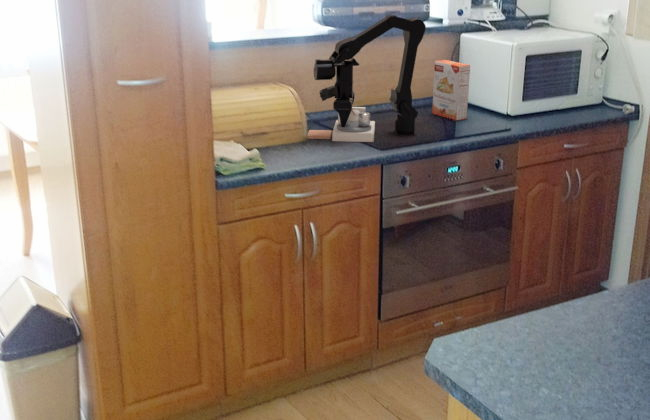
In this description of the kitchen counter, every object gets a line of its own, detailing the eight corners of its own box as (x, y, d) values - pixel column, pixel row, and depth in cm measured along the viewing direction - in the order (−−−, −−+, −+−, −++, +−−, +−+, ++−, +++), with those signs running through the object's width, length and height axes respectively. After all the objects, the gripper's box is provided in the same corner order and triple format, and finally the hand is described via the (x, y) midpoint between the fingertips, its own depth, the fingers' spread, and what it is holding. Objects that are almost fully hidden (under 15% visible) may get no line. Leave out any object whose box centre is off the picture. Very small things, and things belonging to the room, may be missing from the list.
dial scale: (374, 129, 268) (375, 106, 265) (373, 142, 252) (373, 118, 249) (336, 128, 269) (336, 105, 266) (332, 141, 253) (332, 117, 250)
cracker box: (431, 114, 290) (433, 60, 283) (442, 112, 293) (446, 59, 286) (455, 121, 279) (458, 65, 272) (467, 119, 282) (471, 64, 275)
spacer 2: (370, 124, 258) (370, 112, 257) (369, 127, 255) (369, 114, 253) (358, 124, 259) (358, 112, 257) (358, 127, 255) (358, 114, 253)
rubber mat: (331, 133, 263) (331, 130, 262) (330, 139, 255) (330, 136, 255) (309, 132, 263) (309, 129, 263) (306, 138, 256) (306, 135, 256)
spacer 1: (350, 124, 259) (350, 111, 257) (349, 127, 255) (349, 114, 254) (338, 124, 259) (338, 111, 258) (337, 127, 256) (337, 114, 254)
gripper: (323, 73, 261) (323, 117, 266) (318, 83, 244) (318, 130, 249) (355, 74, 260) (354, 117, 266) (352, 84, 243) (351, 130, 248)
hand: (344, 123), depth 257 cm, fingers open, 9 cm apart
